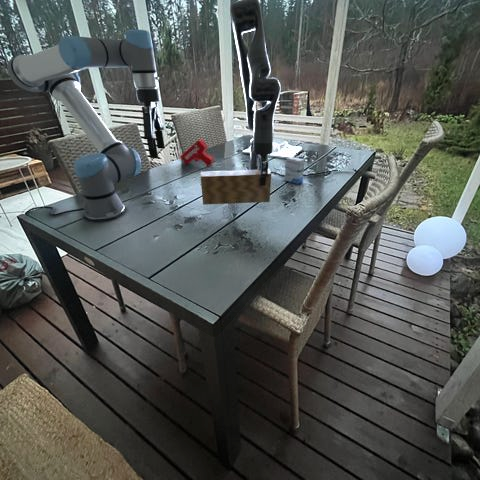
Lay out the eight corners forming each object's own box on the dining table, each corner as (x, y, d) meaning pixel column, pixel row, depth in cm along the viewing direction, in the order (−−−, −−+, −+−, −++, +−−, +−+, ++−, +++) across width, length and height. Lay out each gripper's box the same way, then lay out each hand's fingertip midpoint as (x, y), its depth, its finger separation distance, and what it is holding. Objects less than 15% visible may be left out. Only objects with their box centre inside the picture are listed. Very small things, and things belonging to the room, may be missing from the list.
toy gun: (217, 159, 165) (202, 138, 161) (214, 161, 162) (199, 139, 158) (197, 174, 175) (183, 155, 171) (194, 176, 172) (179, 156, 168)
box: (267, 196, 118) (268, 169, 111) (269, 202, 113) (271, 174, 106) (203, 198, 116) (201, 171, 110) (203, 204, 111) (200, 176, 105)
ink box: (302, 181, 142) (305, 159, 136) (297, 184, 139) (300, 161, 133) (289, 177, 147) (291, 156, 141) (284, 180, 144) (285, 158, 138)
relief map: (291, 159, 177) (291, 151, 174) (243, 153, 190) (243, 145, 187) (302, 149, 197) (303, 142, 194) (258, 144, 211) (258, 137, 208)
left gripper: (150, 91, 80) (162, 162, 92) (164, 85, 101) (172, 144, 113) (124, 91, 80) (139, 163, 91) (144, 86, 101) (154, 144, 112)
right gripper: (276, 144, 96) (273, 188, 105) (269, 135, 108) (267, 176, 117) (255, 145, 96) (254, 189, 105) (251, 135, 108) (250, 176, 117)
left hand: (158, 152), depth 102 cm, fingers open, 13 cm apart
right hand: (261, 182), depth 111 cm, fingers closed on box, 6 cm apart
